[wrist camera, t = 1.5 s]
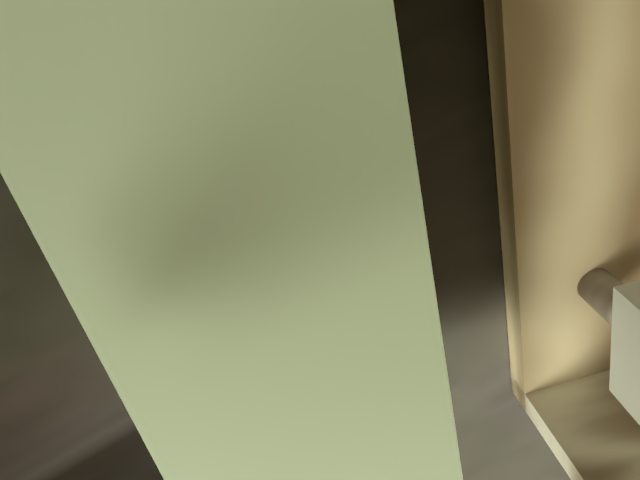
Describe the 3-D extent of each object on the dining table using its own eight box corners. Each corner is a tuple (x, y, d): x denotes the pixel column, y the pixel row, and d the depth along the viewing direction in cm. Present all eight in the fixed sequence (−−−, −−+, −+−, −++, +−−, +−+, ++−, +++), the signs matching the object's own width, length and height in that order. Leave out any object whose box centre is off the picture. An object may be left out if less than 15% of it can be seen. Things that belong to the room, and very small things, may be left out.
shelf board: (224, 530, 22) (225, 594, 20) (-93, -121, 12) (-164, -136, 9) (444, 465, 23) (468, 521, 20) (329, -224, 12) (354, -261, 10)
